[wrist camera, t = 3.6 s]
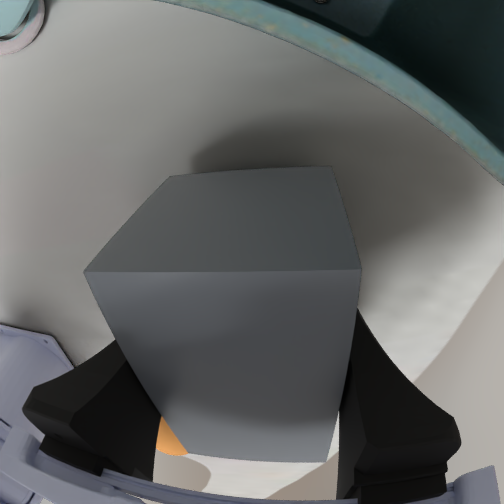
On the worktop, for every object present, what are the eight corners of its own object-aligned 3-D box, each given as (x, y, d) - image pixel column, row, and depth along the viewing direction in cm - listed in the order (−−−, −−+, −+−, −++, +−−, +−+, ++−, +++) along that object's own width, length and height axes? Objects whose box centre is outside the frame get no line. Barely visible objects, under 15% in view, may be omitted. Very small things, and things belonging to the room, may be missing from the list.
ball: (164, 411, 26) (149, 457, 22) (146, 381, 23) (125, 432, 19) (216, 418, 25) (205, 468, 21) (204, 388, 23) (189, 445, 19)
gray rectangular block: (214, 353, 18) (188, 453, 12) (170, 176, 12) (83, 271, 7) (324, 354, 17) (326, 462, 11) (331, 166, 11) (361, 269, 6)
